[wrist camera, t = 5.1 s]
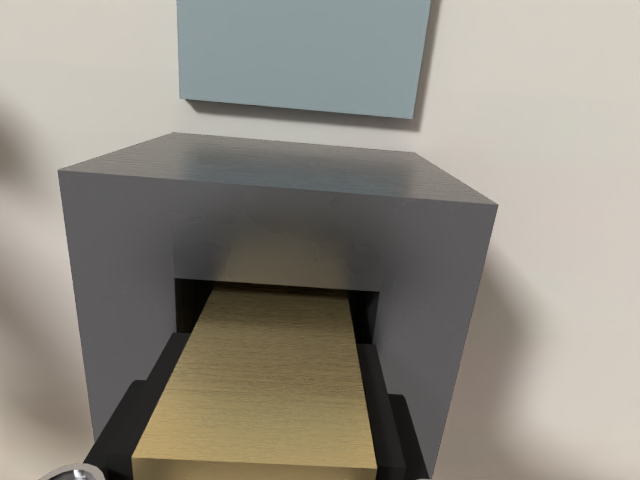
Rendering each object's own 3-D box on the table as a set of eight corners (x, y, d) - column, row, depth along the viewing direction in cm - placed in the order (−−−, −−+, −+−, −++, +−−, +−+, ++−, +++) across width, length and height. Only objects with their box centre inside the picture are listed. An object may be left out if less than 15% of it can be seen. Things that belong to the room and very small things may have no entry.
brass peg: (336, 230, 18) (377, 468, 7) (327, 309, 19) (350, 616, 8) (244, 223, 18) (131, 457, 7) (242, 304, 19) (146, 610, 8)
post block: (414, 152, 19) (498, 204, 11) (382, 352, 23) (424, 508, 14) (173, 132, 18) (57, 170, 10) (181, 340, 22) (101, 495, 14)
